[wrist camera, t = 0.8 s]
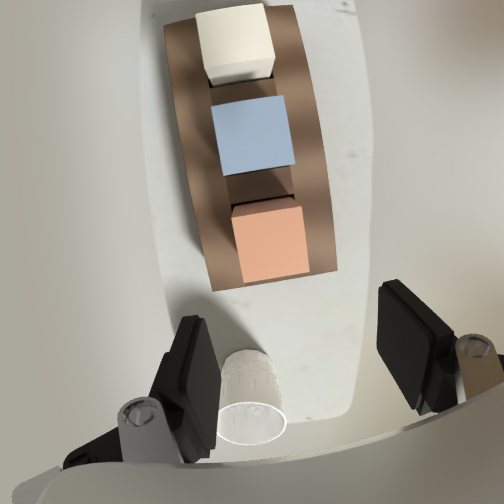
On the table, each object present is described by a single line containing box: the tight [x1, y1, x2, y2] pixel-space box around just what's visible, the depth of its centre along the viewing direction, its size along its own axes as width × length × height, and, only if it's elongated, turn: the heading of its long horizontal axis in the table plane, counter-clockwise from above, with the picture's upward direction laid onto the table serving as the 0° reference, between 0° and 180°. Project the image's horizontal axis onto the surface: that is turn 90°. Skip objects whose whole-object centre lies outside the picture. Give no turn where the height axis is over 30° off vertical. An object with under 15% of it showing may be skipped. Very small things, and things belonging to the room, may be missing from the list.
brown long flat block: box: [164, 5, 338, 292], centre depth 26 cm, size 26×12×5 cm, turn 10°
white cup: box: [217, 349, 287, 445], centre depth 32 cm, size 8×8×10 cm
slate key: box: [211, 95, 295, 176], centre depth 22 cm, size 5×5×6 cm
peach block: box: [231, 196, 310, 283], centre depth 24 cm, size 5×5×6 cm
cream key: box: [195, 3, 275, 88], centre depth 20 cm, size 5×5×6 cm
